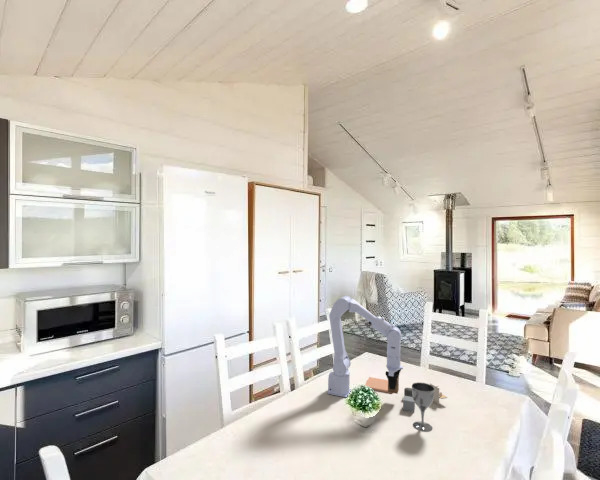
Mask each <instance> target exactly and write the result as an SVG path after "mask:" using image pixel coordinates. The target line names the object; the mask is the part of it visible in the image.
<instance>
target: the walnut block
mask: <svg viewBox="0 0 600 480" xmlns="http://www.w3.org/2000/svg"><path fill="white" fill-rule="evenodd" d="M399 381H400V376H399V377H398V378H397V382H396V387H395V390H394V389H390V387H389V382H388V392H390V393H389V394H399V390H400V389H399V388H400V385H399V383H400V382H399Z"/></svg>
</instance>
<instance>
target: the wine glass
mask: <svg viewBox="0 0 600 480" xmlns="http://www.w3.org/2000/svg"><path fill="white" fill-rule="evenodd" d="M411 388H412V396H413V400H414V402H415V406H417V407H418V409H419V410H420V417H421V418H420V419H421V421H419V420H418V421H414V422H413V423H412V427H413V429H415V430H417V431H420V432H426V433H427V432H431V431H433V430H434V429H433V428H434V427H433V426H432V424H430V423H428V422H426V421H424V419H425V418H424V417H425V413H426V410H427V409H428V408H430V406H431V405H432V404H433V403H434V401H433V398H434V387H433V386H431V385H430V383H425V382H413V383H412V385H411Z"/></svg>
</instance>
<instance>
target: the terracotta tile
mask: <svg viewBox="0 0 600 480" xmlns="http://www.w3.org/2000/svg"><path fill="white" fill-rule="evenodd" d="M365 385H366V386H369V387H370V388H372V389H374V390H373V391H375V392H382V393H388V394H391V393H390V392H388V379H384V378H383V379H382V378H376V377H371V376H369V377H368V379H367V381H366V382H365V384H364V386H365Z"/></svg>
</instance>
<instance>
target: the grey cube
mask: <svg viewBox="0 0 600 480" xmlns="http://www.w3.org/2000/svg"><path fill="white" fill-rule="evenodd" d="M415 409H416V403H415V402H414V400H413V397H409V396H403V399H402V411H404V412H409V413H415Z"/></svg>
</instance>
